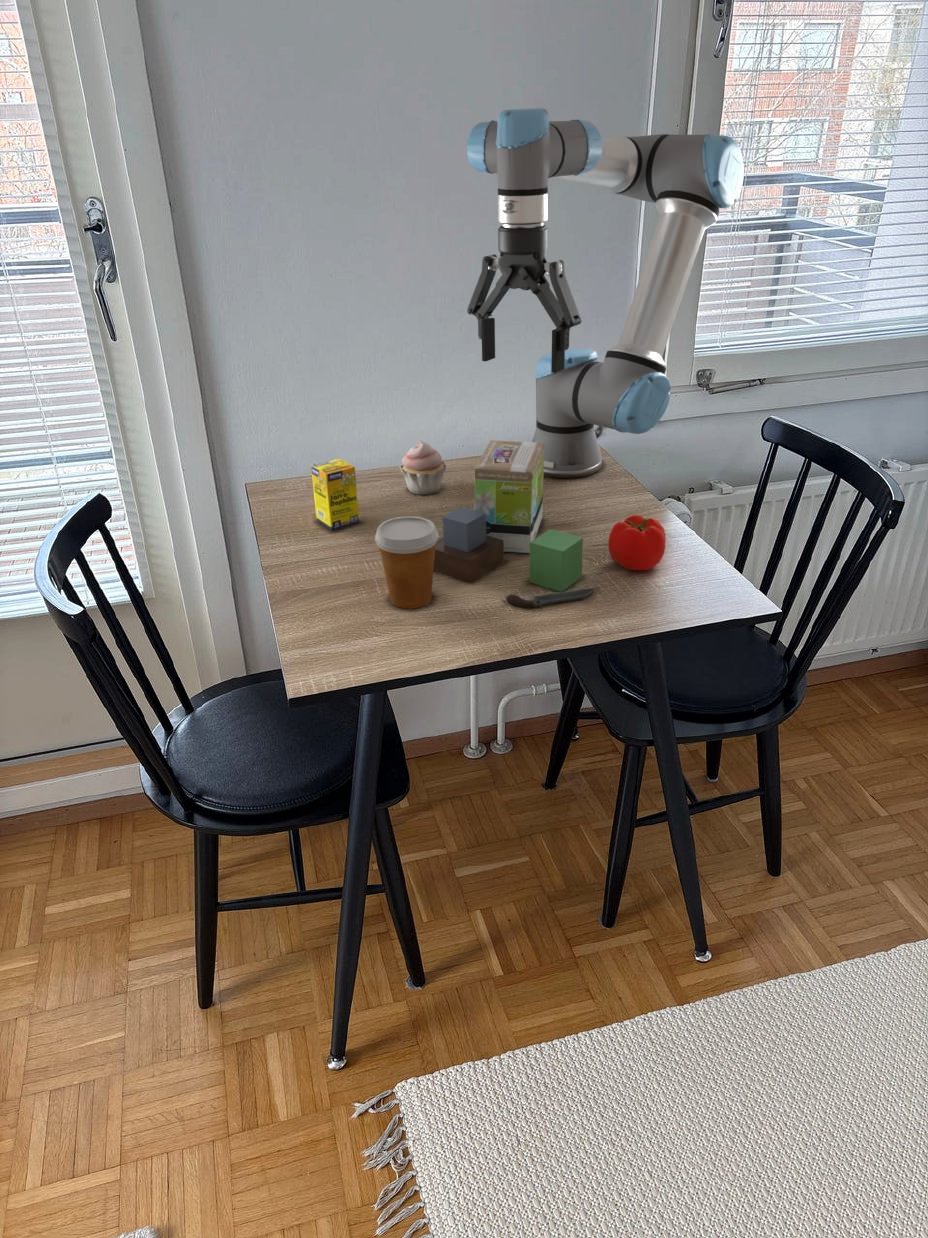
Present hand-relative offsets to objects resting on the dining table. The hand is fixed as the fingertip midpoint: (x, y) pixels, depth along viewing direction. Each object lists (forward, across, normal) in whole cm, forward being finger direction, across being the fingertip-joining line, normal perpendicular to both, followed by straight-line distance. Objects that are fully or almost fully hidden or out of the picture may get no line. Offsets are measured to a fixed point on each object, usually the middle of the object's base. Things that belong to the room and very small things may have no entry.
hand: (522, 365), depth 152 cm
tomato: (+29, +24, -2) cm, 38 cm away
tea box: (+29, 0, -4) cm, 29 cm away
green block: (+29, +16, -14) cm, 36 cm away
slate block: (+25, +1, -18) cm, 31 cm away
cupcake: (+29, -26, +4) cm, 39 cm away
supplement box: (+29, -29, -17) cm, 44 cm away
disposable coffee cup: (+29, +1, -32) cm, 43 cm away
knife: (+29, +19, -20) cm, 40 cm away
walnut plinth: (+29, +1, -18) cm, 34 cm away
